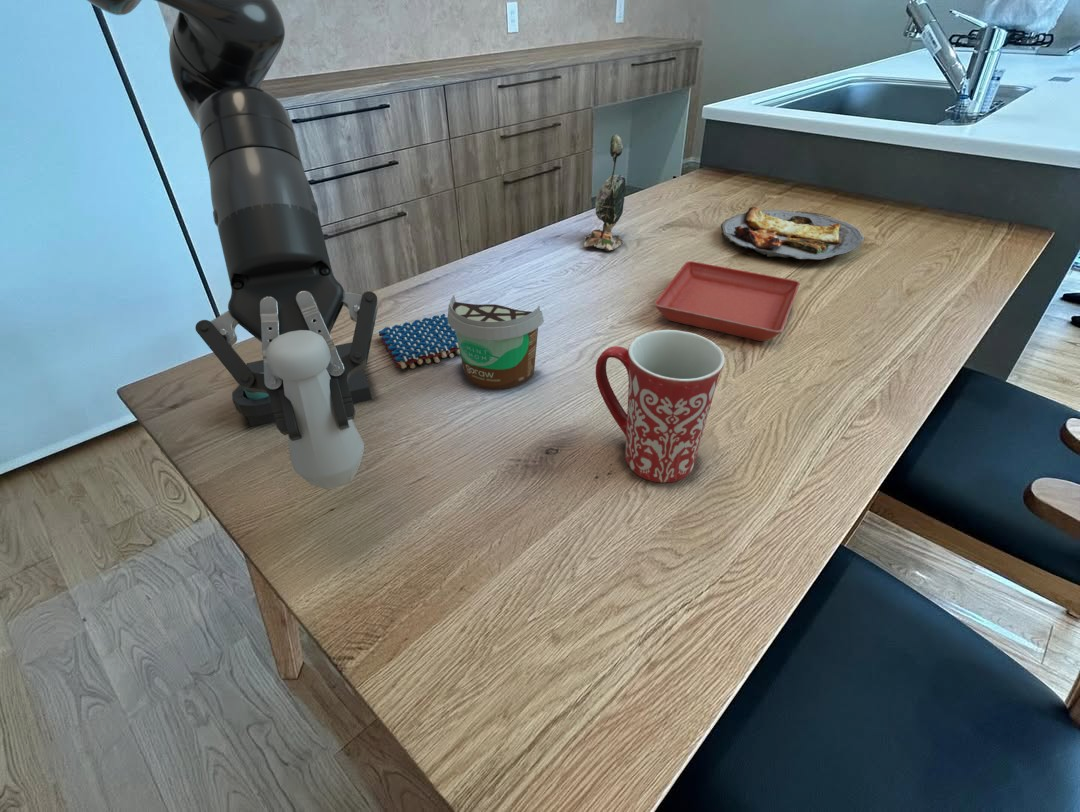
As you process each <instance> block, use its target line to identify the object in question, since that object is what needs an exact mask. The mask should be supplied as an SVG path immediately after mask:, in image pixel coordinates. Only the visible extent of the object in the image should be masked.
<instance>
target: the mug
mask: <svg viewBox="0 0 1080 812" xmlns="http://www.w3.org/2000/svg"><path fill="white" fill-rule="evenodd" d="M628 345H629V346H628V348H626V347H622V346H617V345H614V346H610V347H608V348H606V349H605V350H604V351H603V352H602V353H601V354H600V355H599V357H598V358H597V361H596V363H595V379H596V384H597V385H596V386H597V387H598V390H599V393H600V395H601V397H602V400H603V402H604V404H605V406H606V408H607V409H608V411H609V413H610V415H611V416H612V418H613V419H614V421H615V422H616V424H617V425H618V427H619V429H620V430H621V431H622V432H623V434H624V436H625V449H624V450H625V452H624V453H625V454H624V455H625V456H624V457H625V461H626V464H627V465H628V468H630V470H631V471H632V472H633V473H635V474H636V475H638V476H639V477H641V478H643V479H645V480H647V481H651V482H655V483H675V482H678V481H680V480H683V479H684V478H686V477H687V476H689V475H690V474H691V472H692V471H693V470H694V466H695V463H696V459H697V456H698V453H699V452H698V451H699V448H700V445H701V441H702V439H703V435H704V431H705V428H706V424H707V420H708V417H709V412H710V410H711V406H712V403H713V398H714V395H715V391H716V389H717V384H718V380H719V377H720V374H721V372H722V370H723V369H724V367H725V364H726V356H725V354H724V352H723V350H722V349H721V348H720V346H719V345H718V344H717V343H715V342H713V341H712V340H710V339H709V338H707V337H705V336H702V335H699V334H697V333H694V332H689V331H685V330H679V329H659V330H653V331H648V332H645V333H642V334H640V335H638V336H637V337H635V338H634V339H633V340H631V342H630V344H628ZM609 358H613V359H615V360H618V361H620V363H621V364H623V366H624V368H625V369H626V372H627V376H628V377H627V379H628V387H627V388H628V389H627V390H628V391H627V392H628V393H627V410H626V411H627V412H626V411H625V409H624V408H623V407H622V405H621V403H620V400H618V398H617V396H616V393H615V392H614V390H613V388H612V386H611V382H610V380H609V378H608V373H607V362H608V360H609Z"/></svg>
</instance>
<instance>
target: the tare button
mask: <svg viewBox="0 0 1080 812" xmlns="http://www.w3.org/2000/svg"><path fill="white" fill-rule="evenodd" d="M244 391H245V393H246V396H247V398H249V399H254V400H257V399H262V398H266V397H268V396H269V394H267V393H261V392H256V393H249V392H247V391H246V390H245V389H244Z"/></svg>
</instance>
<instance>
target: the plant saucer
mask: <svg viewBox="0 0 1080 812" xmlns="http://www.w3.org/2000/svg"><path fill="white" fill-rule="evenodd" d="M800 285H801V282H800V281H798V280H795V279H790V278H785V277H779V276H774V275H768V274H763V273H758V272H751V271H746V270H743V269H742V270H741V269H737V268H731V267H726V266H719V265H714V264H710V263H704V262H699V261H698V262H697V261H694V260H693V261H691V260H689V261H686V262H684V264H683V265H682V266H681V268H680V269H679V270H678V271H677V273H676V274H675V275H674V276H673V278H672V279H671V280H670V282H668V284H667V285H666V287H665V288H664V289H663V291H662V292H661V293H660V294H659V296H658V297H657V299H656V300H655V301H654V302H653V303H654V307H655V308H656V309H657V310H658V312H659V313H660V314H661V315H662V316H664V318H665V319H666V320H668V321H671V322H674V323H677V324H678V323H679V324H683V325H687V326H691V327H697V328H701V329H706V330H710V331H713V332H718V333H724V334H728V335H731V336H736V337H741V338H744V339H750V340H754V341H758V342H766V341H768V340H771V339H773V338H775V337H776V336H778V335H780V334H781V333H782V332H783V331H784V329H785V325H786V323H787V320H788V317H789V315H790V312H791V310H792V307H793V303H794V301H795V298H796V296H797V293H798V291H799V288H800Z"/></svg>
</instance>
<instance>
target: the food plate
mask: <svg viewBox="0 0 1080 812" xmlns="http://www.w3.org/2000/svg"><path fill="white" fill-rule="evenodd" d="M720 229H721V235H723V237H724V238H726V239H725V241H728V242H730V243H731V242H734V244H735V245H736V246H738V247H744V248H749V249H752V250H754V251H755V252H757V253H759V254H762V255H766V257H780V258H790V257H792V258H794V259H797V260H826V259H827V258H833V257H834V256H837V255H843V254H847V253H849V252H851V251H853V250H855V249H857V248H858V247H859V246H860V245H861V244H862V243H863V241H864V240H865V236H864V235H863V234H862V232H861V230H859V228H858V227H856V226H854V224H851V223H849V222H847V221H844V220H839V219H838V218H835V217H832V216H830V215H827V214H823V213H817V212H809V211H799V210H787V209H766V210H761V209H760V208H759V207H757V206H750V207H749V208H748V210H747V211H746V212H744V213H740V214H739V213H738V214H736V215H734V216H730V217H729V218H727V219H725V220H724V221H723V222H722V223H721V225H720Z"/></svg>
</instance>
